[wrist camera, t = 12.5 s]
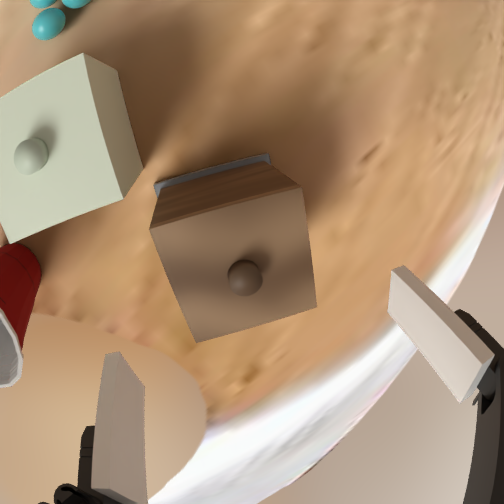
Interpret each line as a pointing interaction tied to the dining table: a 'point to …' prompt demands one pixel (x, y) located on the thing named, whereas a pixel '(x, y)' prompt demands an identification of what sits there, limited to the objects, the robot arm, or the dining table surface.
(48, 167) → the sage cover
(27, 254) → the plastic cup
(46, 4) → the marbles
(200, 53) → the dining table surface
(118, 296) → the dining table surface
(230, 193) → the walnut cover
